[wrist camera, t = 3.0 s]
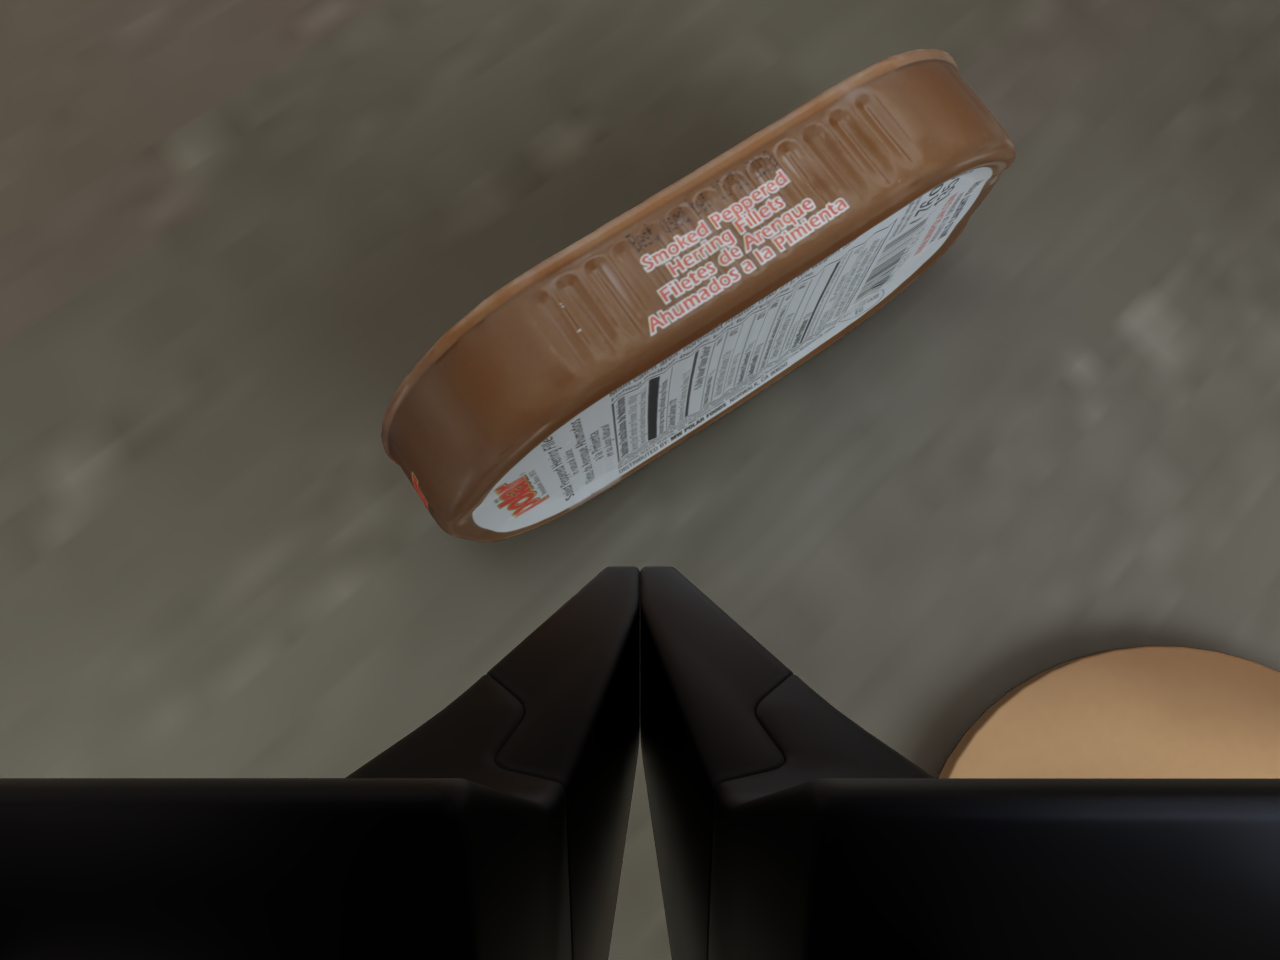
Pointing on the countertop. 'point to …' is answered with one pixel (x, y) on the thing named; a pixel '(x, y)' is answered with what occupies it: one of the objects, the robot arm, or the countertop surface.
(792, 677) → the robot arm
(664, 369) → the tin
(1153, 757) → the wooden coaster
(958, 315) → the countertop surface
